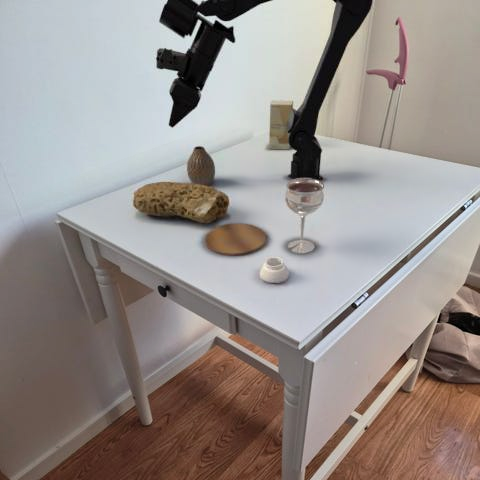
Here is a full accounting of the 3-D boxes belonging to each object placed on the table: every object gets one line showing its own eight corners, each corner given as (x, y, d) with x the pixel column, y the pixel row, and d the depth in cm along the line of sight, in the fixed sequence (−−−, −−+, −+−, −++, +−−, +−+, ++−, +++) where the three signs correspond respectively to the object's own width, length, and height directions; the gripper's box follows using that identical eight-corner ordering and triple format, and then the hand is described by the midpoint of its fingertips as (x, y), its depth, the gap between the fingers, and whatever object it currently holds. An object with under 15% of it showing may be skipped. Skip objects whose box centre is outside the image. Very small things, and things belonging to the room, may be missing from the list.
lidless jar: (273, 265, 76) (253, 277, 73) (273, 251, 74) (253, 262, 71) (294, 275, 73) (275, 288, 70) (295, 261, 71) (275, 273, 68)
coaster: (247, 220, 90) (247, 218, 89) (277, 244, 81) (277, 242, 81) (195, 235, 86) (195, 233, 85) (222, 262, 77) (222, 259, 77)
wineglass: (278, 252, 79) (279, 190, 71) (289, 235, 84) (291, 175, 76) (314, 258, 77) (319, 195, 69) (323, 240, 82) (328, 180, 74)
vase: (217, 178, 109) (215, 142, 103) (214, 188, 103) (211, 152, 98) (191, 178, 109) (187, 143, 104) (186, 189, 104) (181, 152, 98)
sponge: (233, 216, 94) (165, 182, 100) (234, 187, 88) (161, 152, 94) (196, 250, 88) (126, 212, 94) (194, 222, 81) (119, 182, 88)
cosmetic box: (268, 149, 124) (268, 104, 116) (270, 144, 127) (270, 100, 120) (290, 149, 123) (292, 103, 115) (291, 145, 126) (293, 100, 119)
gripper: (174, 24, 93) (147, 92, 102) (162, 34, 79) (132, 112, 88) (218, 53, 97) (189, 117, 106) (214, 68, 83) (180, 140, 91)
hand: (173, 120), depth 97 cm, fingers open, 9 cm apart
